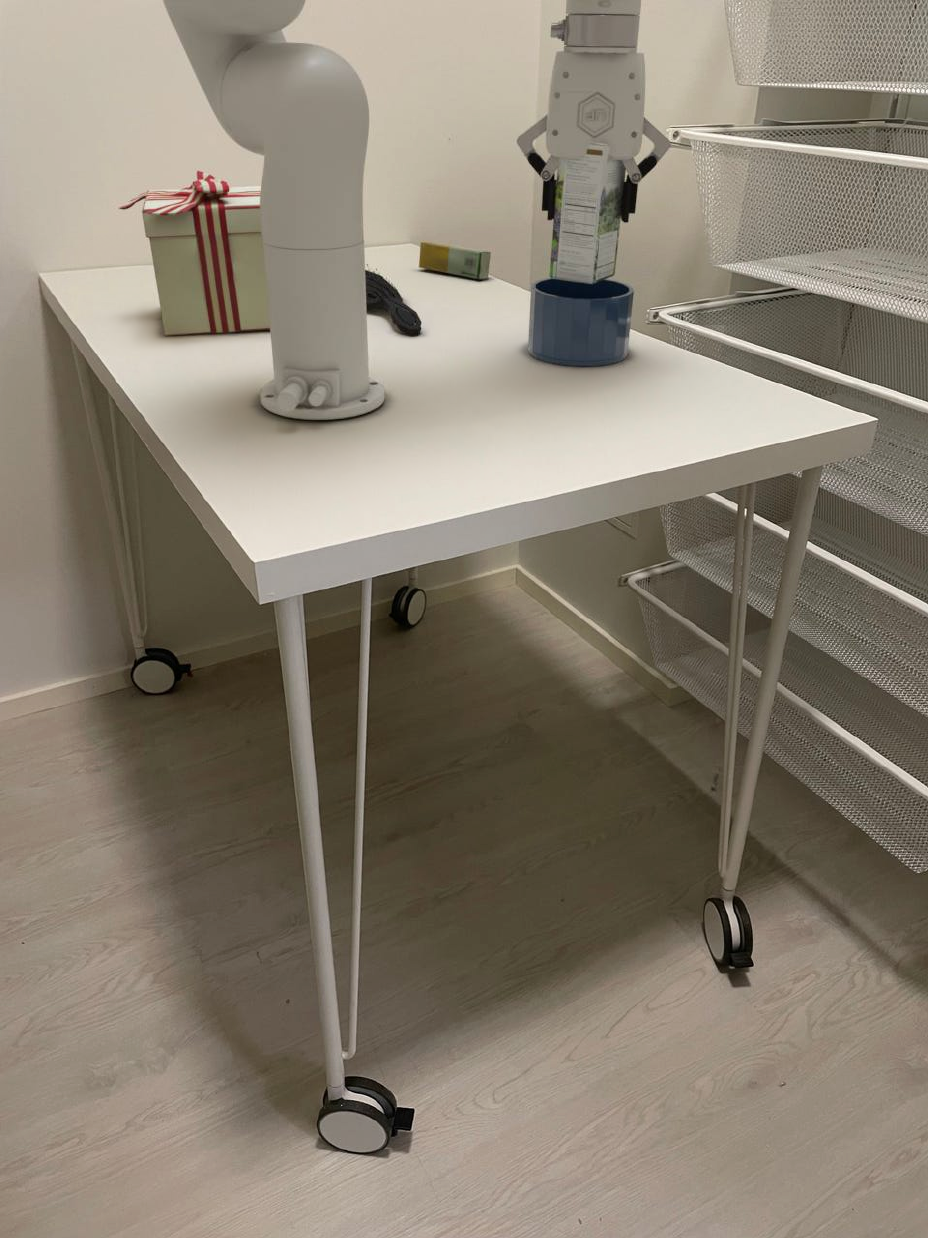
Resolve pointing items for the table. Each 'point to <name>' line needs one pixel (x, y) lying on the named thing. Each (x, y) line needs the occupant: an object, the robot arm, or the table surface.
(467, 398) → the table surface
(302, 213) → the robot arm
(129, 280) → the table surface
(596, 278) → the syrup box
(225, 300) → the gift box
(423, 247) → the medication box
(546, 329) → the crock
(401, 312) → the hairbrush
